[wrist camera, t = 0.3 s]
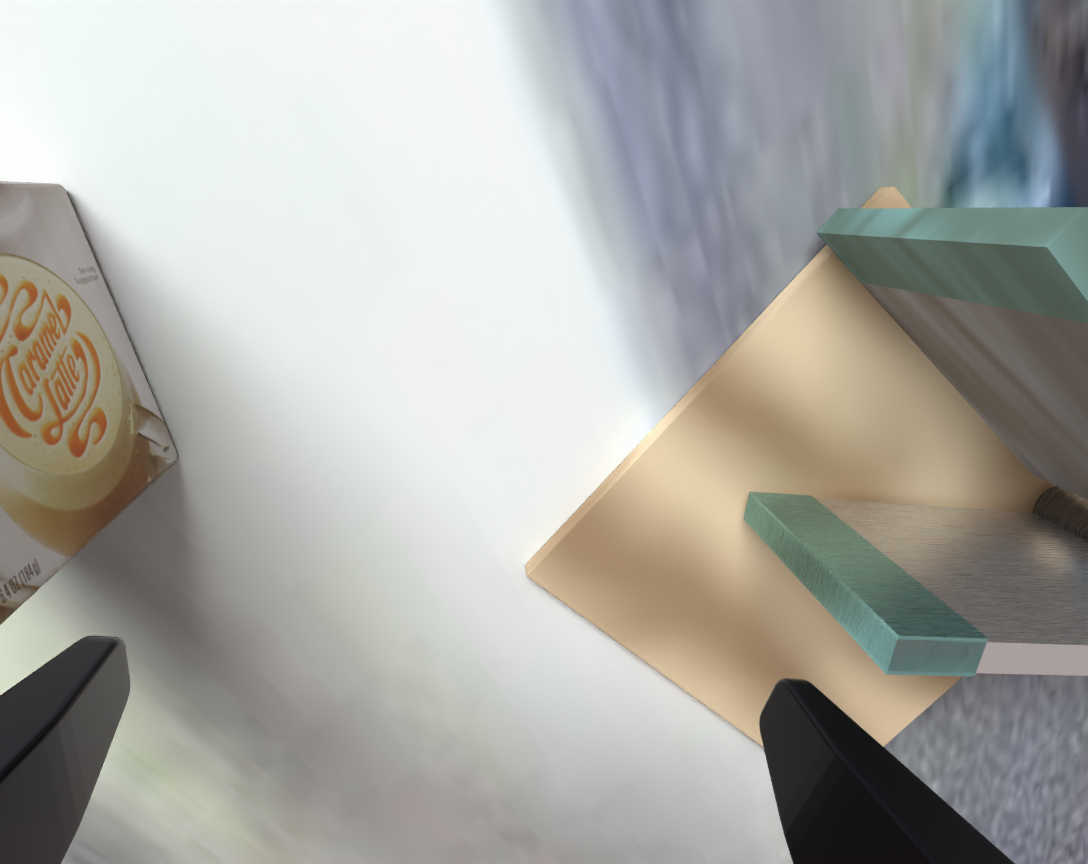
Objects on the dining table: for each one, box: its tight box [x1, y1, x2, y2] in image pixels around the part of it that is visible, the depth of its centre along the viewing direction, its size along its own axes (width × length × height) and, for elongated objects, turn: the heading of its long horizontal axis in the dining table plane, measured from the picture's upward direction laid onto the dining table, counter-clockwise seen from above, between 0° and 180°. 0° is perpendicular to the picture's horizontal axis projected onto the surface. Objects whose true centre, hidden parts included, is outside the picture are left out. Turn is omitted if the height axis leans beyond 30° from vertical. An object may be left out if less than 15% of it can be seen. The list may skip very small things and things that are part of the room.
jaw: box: [743, 486, 1088, 677], centre depth 21 cm, size 2×13×9 cm, turn 83°
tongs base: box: [525, 187, 1088, 747], centre depth 22 cm, size 18×19×10 cm
